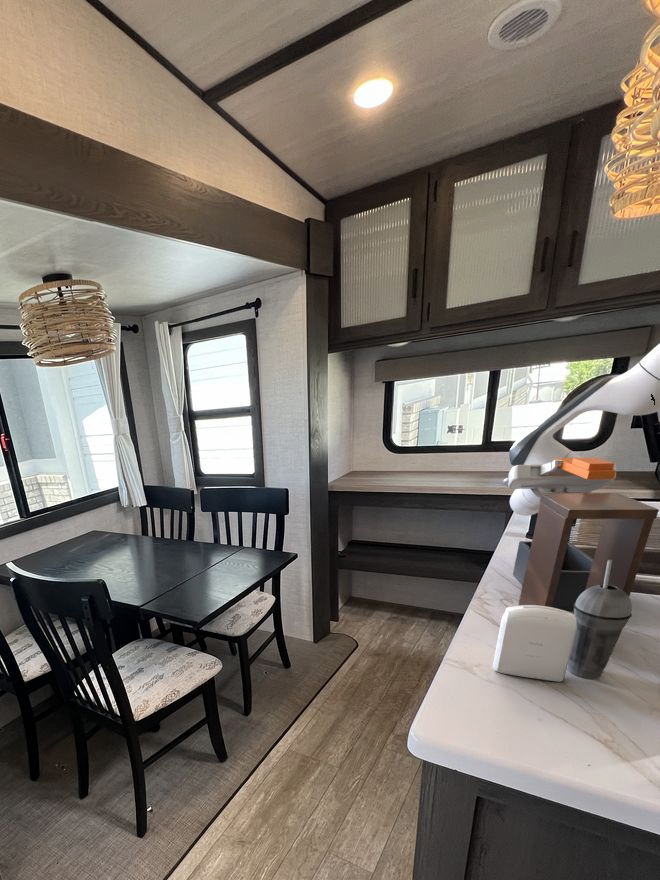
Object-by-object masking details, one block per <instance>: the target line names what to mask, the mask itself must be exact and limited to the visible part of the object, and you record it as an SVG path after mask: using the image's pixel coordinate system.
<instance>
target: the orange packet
mask: <svg viewBox="0 0 660 880" xmlns="http://www.w3.org/2000/svg"><path fill="white" fill-rule="evenodd" d="M555 460H563V462H562V468H561V469H563V470H566V471H568V472H571V473H573V474H575V475H578V476H580V477H583V478H585V479H614V477H615V474H616V475H617V469H616V470H613V467H614V464H615V463H614V462H611V461H608V460H605V459H602V458H598V457H582V458H555ZM615 478H616V477H615ZM614 480H615V479H614Z"/></svg>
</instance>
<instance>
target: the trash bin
mask: <svg viewBox="0 0 660 880" xmlns="http://www.w3.org/2000/svg"><path fill="white" fill-rule="evenodd" d="M531 544H532V541H531V540H530V541H527V540H525V541H523V540H519V541H518V547H517V552H516V556H515V561H514V562H515V563H514V565H513V566H514V567H513V572H512V575H513V577H514V578H515V579H516V580H517V581H518V582H519V584H520V585H521V587H522V586H523V581H524V576H525V572H526V567H527V563H528V558H529V553H530V549H531ZM593 559H594V558H593V557H591V556H590V555H589V554H587V553H585V552H584V551H583V550H582V549H580V548H578V547H577V546H576V545H575V544H574V543H572V542H570V541H568V545H567V549H566V553H565V557H564V561H563V565H562V569H561V573H560V577H559V581H558V585H557V589H556V593H555V597H554V601H553V606H552V608H557V609H561V610H564V611H567V612H574V604H575V603H576V600H577V598H578V597H579V596H580V594H581V593H583V592H584V591H585V589H586V585H587V581H588V578H589V574H590V570H591V567H592V563H593Z"/></svg>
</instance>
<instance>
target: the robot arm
mask: <svg viewBox="0 0 660 880" xmlns="http://www.w3.org/2000/svg"><path fill="white" fill-rule="evenodd" d="M651 394H652V395H653V397H654V399H655V405H654V401H653V400H651V399H652V397H651ZM591 411H599V412H600V411H601V412H609V413H613V414H620V415H624V416H625V415H626V416H646V415H651V414H654V413H657V412H660V343H658V344H657V345H656V346H655V347H654V348H652V349H651V350H650V351H649V352H648V353H647V354H646V355H645V356H644V357H643V358H642V359H640V361H639V362H637V363H636V364H635V365H634V366H633V367H631V368H630V369H628V370H627V371H625V372H623V373H621V374H619V375H617V376H615V377H604V378H602V379H599V380H598V381H596V382H594V383H593V384H592V385H590V386H588V388H586V389H585V390H583V391H582V392H581V393H580V394H578V395H576V396H575V397H573V399H571V400H570V401H569V402H567V403H566V404H564V406H562V407H560V408H559V409H558V410H557V411H556V412H555V413H553V414H552V415H551V416H549V417H548V418H547V419H545V420H544V421H543V422H542V423H541V424H540V425H538V426H537V427H535V428H533V429H532V430H530V431H528V432H527V433H525V434H524V435H521V436H520V437H519V438H518V439H516V441H515V442H514V443H513V444H512V446H511V448H510V449H509V451H508V459H509V462H510V465H511V466H512V467H511V469H510V470H509V472H508V474H507V475H508V477H506V478H504V479H503V480H502V482H501V486H506V487H508V489H510V490H514V491H513V493H511V495H510V498H509V505H510V508H511V510H512V511H513V512H514V513H515V514H517V515H519V516H523V517H530V516H533V515H537V514H538V511H539V507H540V503H541V502H540V497H541V494H573V493H593V492H594V491H597V490H599V489H602V488H604V487H605V486H607V485H608V484H610V483H612V482H613V481H614V480H615V479H616V476H617V473H616V474H615V477H614V479H585V478H583V477H580V476H578V475H575V474H573V473H571V472H568V471H566V470H563V469H561V468H562V462H563V460H555V458H583V457H582V456H580V455H579V454H578V453H576V452H575V451H573V450H571V449H569V448H568V447H567V446H565V445H563V444H562V443H560V442H559V441H558V440H556V439H555V438H554V434H555V433H556V432H557V433H558V431H559V430H561V429H562V428H564V427H565V426H566V425H568V424H569V423H570V422H572V421H573V420H574V419H576V418H577V417H578V416H580V415H582V414H583V413H586V412H591ZM613 470H616V471H617V466H616V463H614V467H613Z"/></svg>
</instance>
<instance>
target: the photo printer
mask: <svg viewBox="0 0 660 880" xmlns="http://www.w3.org/2000/svg"><path fill="white" fill-rule="evenodd" d="M576 622H577V621H576V617H575V614H574V613H572V612H571V611H564V610H561V609H557V608H552V607H546V606H536V605H523V606H518V605H515V606H509V607H506V608H505V611H504V613H503V615H502V617H501V619H500V625H499V631H498V636H497V641H496V647H495V651H494V656H493V657H494V658H493V662H492V668H493V670H494V671H495V672H496V673H499V674H500V673H501V674H505V675H511V676H517V677H523V678H530V679H537V680H543V681H550V682H560V683H561V682H562V681H563V680H564V679H565V676H566V672H567V670H568V669H567V667H568V661H569V658H570V654H571V650H572V646H573V642H574V638H575V634H576V631H577V623H576Z"/></svg>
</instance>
